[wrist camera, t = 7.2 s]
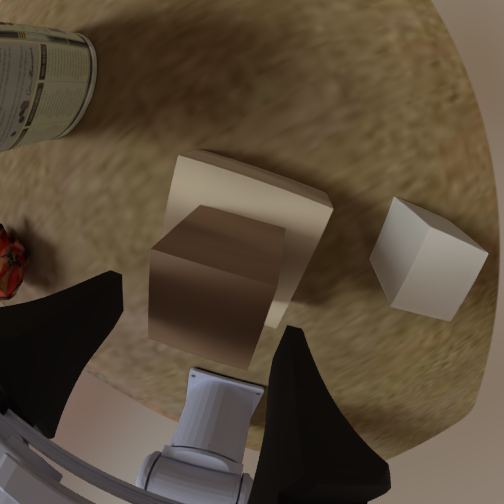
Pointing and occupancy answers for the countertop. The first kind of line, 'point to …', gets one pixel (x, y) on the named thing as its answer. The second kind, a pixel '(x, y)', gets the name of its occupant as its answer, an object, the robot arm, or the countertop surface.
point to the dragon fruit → (11, 265)
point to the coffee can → (42, 83)
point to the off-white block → (425, 261)
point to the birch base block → (253, 210)
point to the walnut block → (214, 284)
